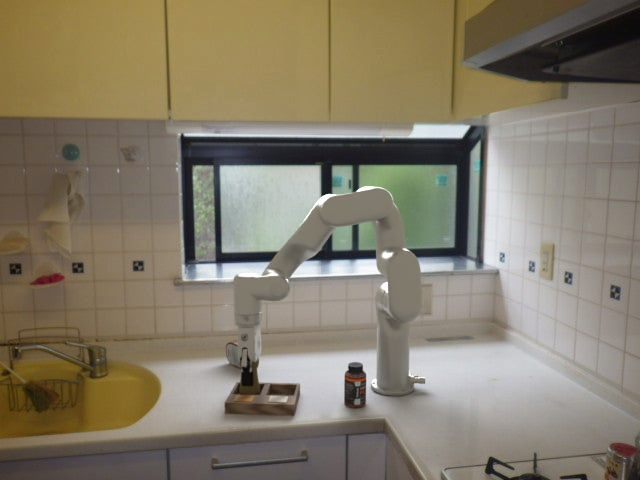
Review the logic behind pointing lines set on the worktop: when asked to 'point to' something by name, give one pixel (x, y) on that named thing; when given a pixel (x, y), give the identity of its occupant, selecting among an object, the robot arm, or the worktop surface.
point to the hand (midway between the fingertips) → (249, 381)
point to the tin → (233, 353)
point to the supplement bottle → (355, 385)
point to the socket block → (264, 400)
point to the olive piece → (254, 389)
